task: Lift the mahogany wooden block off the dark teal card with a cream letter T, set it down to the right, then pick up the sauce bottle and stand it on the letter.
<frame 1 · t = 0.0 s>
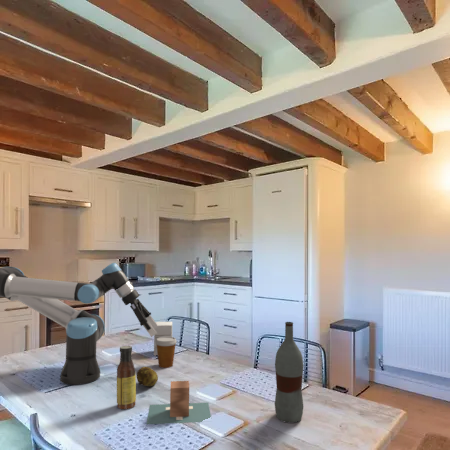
hand: (155, 331, 171), 15 cm above the table, tool tilted 35°, fingers open, 13 cm apart
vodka: (288, 417, 121), on the table
potato: (148, 386, 145), on the table
disposable coffee cup: (165, 366, 170), on the table
wooden block: (179, 412, 122), resting on letter card
supplement box: (163, 353, 190), on the table
sauce bottle: (125, 407, 127), on the table
letter card: (179, 413, 122), on the table
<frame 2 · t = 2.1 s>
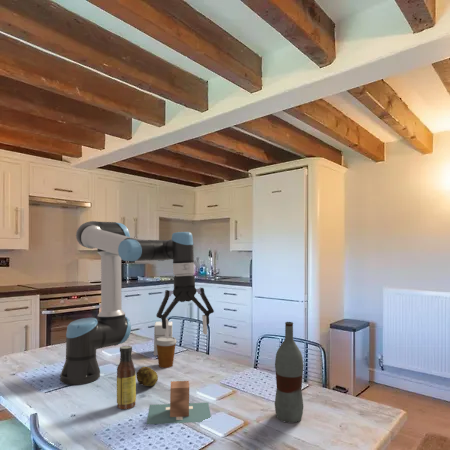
hand: (186, 336, 132), 23 cm above the table, tool pointing down, fingers open, 13 cm apart
nothing on the table moved.
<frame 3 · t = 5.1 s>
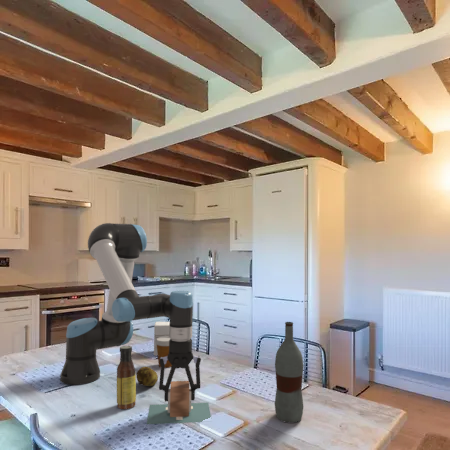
hand: (179, 410, 122), 1 cm above the table, tool pointing down, fingers closed on wooden block, 6 cm apart
wooden block: (179, 412, 122), resting on letter card, touching gripper
everything else where it was.
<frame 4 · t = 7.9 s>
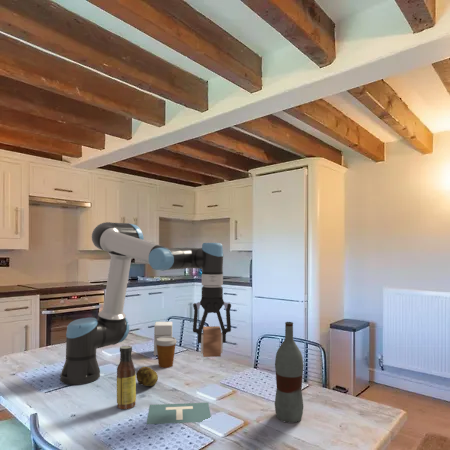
hand: (211, 352, 132), 17 cm above the table, tool pointing down, fingers closed on wooden block, 6 cm apart
wooden block: (211, 354, 132), point 17 cm above the table, touching gripper
everything else where it was.
when the fingers open (2 cm above the table, at t = 11.0 s): wooden block drops 2 cm, on the table.
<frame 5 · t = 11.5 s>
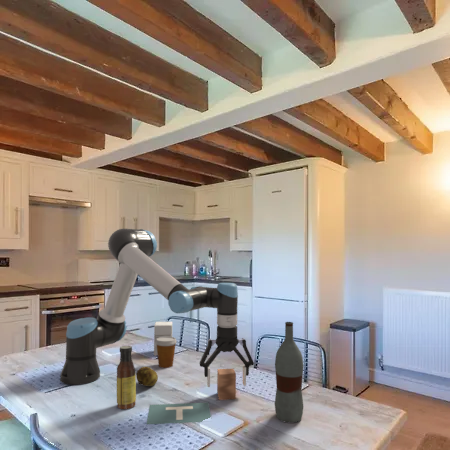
hand: (226, 385, 136), 4 cm above the table, tool pointing down, fingers open, 12 cm apart
wooden block: (226, 396, 136), on the table
everything else where it was.
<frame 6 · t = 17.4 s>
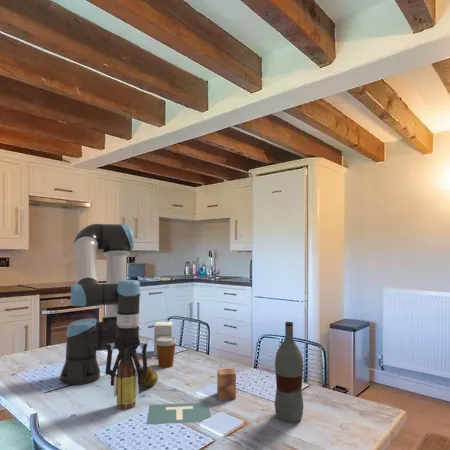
hand: (126, 394, 127), 4 cm above the table, tool pointing down, fingers closed on sauce bottle, 6 cm apart
sauce bottle: (125, 407, 127), on the table, touching gripper
everything else where it was.
when the fingers open (6 cm above the table, at t = 23.5 s): sauce bottle drops 2 cm, resting on letter card.
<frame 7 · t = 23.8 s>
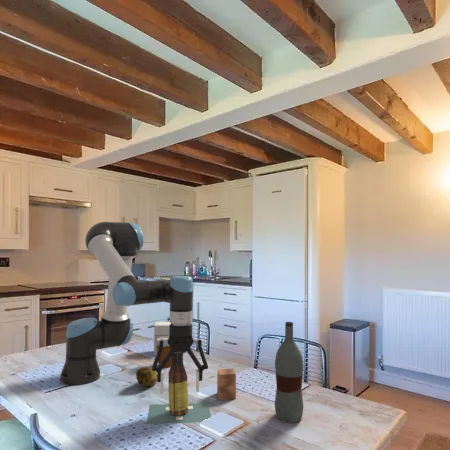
hand: (179, 391, 123), 7 cm above the table, tool pointing down, fingers open, 11 cm apart
sauce bottle: (178, 413, 122), resting on letter card
everything else where it was.
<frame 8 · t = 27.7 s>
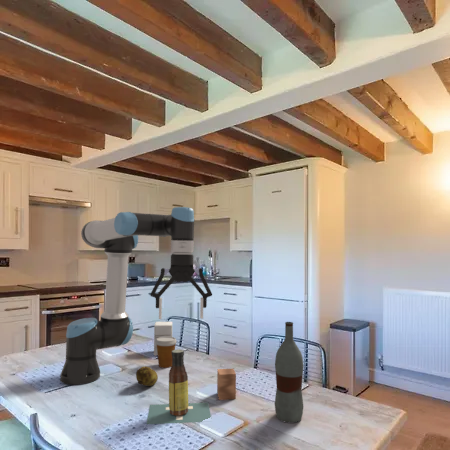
hand: (181, 318, 124), 31 cm above the table, tool pointing down, fingers open, 13 cm apart
nothing on the table moved.
at the end: sauce bottle inside the target area on the letter card (0.4 cm from its centre), point 0.0 cm above the letter card's base; sauce bottle tilted 0°; wooden block touching table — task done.
